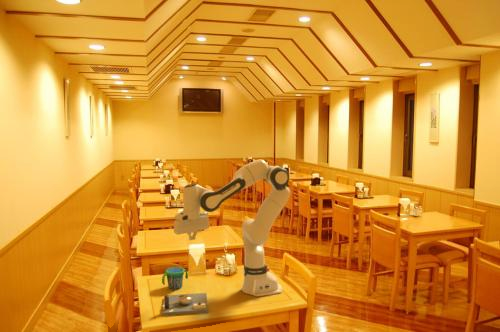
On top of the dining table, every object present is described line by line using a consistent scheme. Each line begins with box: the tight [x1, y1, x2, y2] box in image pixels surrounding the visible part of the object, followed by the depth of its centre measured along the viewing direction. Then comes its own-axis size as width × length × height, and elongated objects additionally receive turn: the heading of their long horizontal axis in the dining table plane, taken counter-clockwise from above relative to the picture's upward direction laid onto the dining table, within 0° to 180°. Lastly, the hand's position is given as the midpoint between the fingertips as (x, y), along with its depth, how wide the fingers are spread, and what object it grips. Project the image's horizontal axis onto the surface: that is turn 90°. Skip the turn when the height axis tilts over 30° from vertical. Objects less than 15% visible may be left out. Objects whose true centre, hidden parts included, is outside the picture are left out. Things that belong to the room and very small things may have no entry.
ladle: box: [163, 293, 192, 309], centre depth 203 cm, size 15×7×6 cm, turn 129°
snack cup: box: [161, 266, 189, 290], centre depth 229 cm, size 16×10×10 cm
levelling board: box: [161, 292, 209, 317], centre depth 207 cm, size 23×20×4 cm
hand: (192, 239), depth 216 cm, fingers closed
